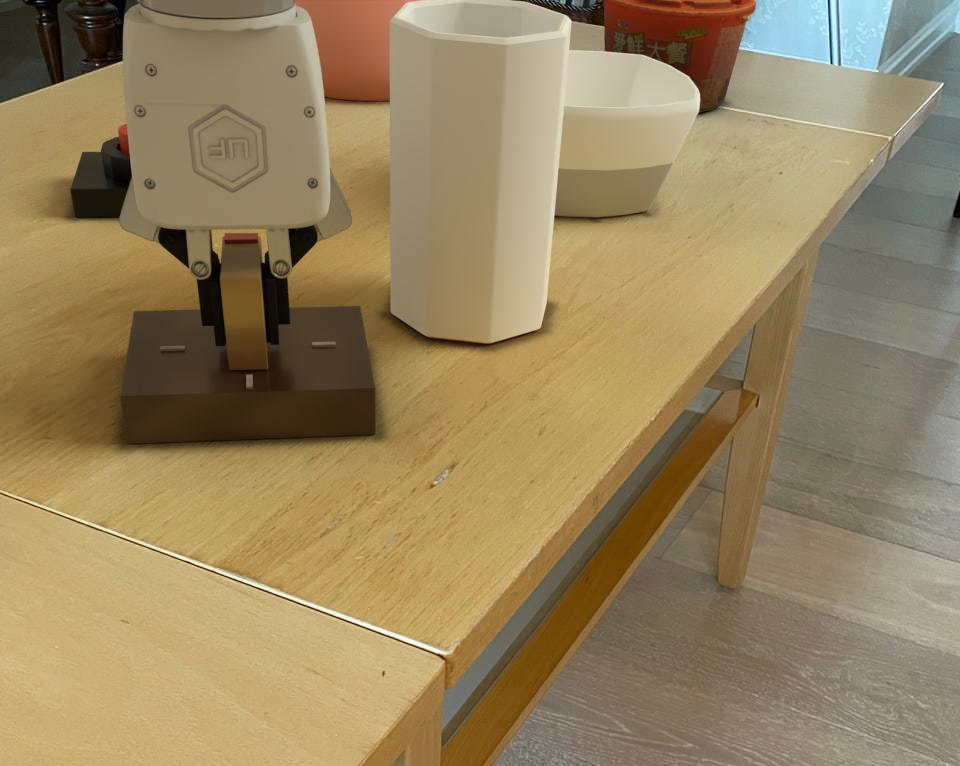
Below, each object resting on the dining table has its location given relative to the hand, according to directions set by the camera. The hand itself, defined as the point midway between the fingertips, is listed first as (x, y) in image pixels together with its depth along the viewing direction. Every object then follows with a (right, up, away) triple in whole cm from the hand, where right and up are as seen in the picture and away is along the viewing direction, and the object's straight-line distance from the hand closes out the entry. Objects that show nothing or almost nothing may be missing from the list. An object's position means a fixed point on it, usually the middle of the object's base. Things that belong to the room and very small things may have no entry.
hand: (247, 333), depth 67 cm
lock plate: (0, -3, +3) cm, 4 cm away
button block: (-13, +18, +27) cm, 35 cm away
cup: (+13, +5, +13) cm, 19 cm away
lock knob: (0, -1, +1) cm, 1 cm away
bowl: (+22, +21, +32) cm, 44 cm away
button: (-13, +21, +25) cm, 35 cm away
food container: (+33, +40, +57) cm, 77 cm away
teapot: (+2, +41, +56) cm, 69 cm away
